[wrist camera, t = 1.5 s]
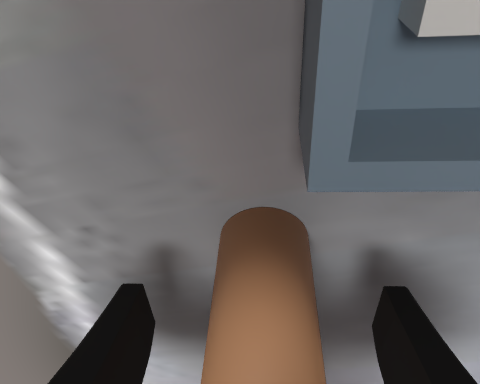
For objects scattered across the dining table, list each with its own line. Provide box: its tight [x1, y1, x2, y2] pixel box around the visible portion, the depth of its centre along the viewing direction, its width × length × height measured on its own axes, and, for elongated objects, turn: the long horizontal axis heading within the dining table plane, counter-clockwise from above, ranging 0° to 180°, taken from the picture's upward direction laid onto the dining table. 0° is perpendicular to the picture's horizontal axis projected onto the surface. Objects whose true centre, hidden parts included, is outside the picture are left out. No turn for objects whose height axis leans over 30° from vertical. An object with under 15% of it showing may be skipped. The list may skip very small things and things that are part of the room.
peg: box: [201, 207, 326, 384], centre depth 11 cm, size 3×3×7 cm
